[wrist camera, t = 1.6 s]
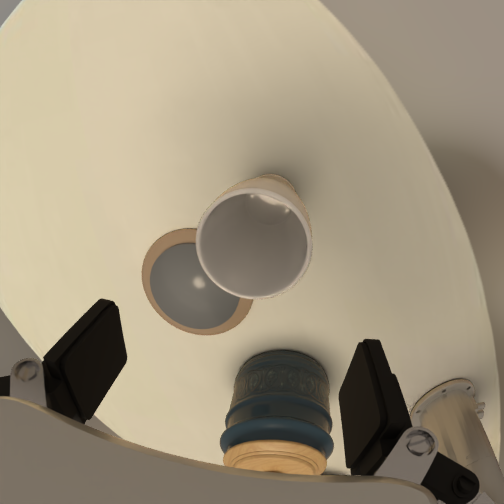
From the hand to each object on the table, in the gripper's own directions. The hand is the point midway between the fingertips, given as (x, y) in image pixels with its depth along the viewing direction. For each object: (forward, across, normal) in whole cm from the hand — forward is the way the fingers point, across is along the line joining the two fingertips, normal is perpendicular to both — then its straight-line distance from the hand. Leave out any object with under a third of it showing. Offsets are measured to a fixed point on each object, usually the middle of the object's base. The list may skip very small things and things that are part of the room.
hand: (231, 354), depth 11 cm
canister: (+22, -5, +24) cm, 32 cm away
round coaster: (+22, +8, +10) cm, 25 cm away
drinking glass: (+22, 0, -1) cm, 22 cm away
